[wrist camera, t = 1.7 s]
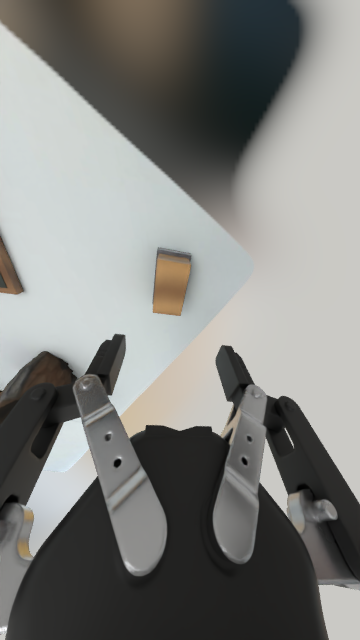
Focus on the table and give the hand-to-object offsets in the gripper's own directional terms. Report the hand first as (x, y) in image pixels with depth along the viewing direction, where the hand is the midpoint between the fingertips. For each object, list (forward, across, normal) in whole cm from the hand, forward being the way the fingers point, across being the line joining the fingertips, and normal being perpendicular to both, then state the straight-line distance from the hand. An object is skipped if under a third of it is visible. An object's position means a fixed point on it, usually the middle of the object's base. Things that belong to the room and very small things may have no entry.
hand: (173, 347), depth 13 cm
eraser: (+16, 0, 0) cm, 16 cm away
